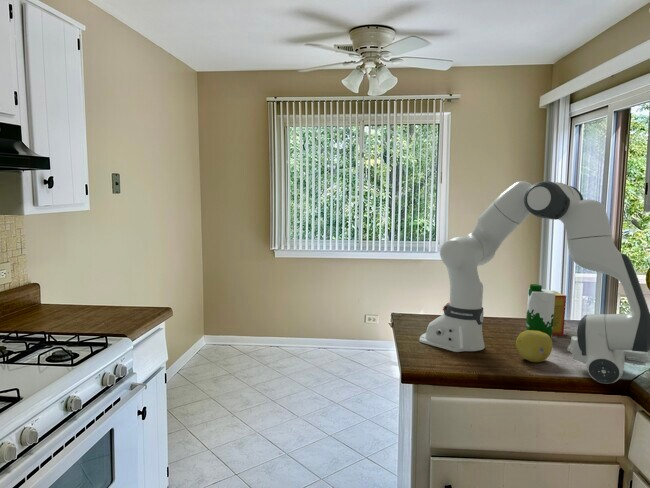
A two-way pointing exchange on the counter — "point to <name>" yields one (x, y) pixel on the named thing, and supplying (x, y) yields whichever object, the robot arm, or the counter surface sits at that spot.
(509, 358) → the counter surface
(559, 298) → the baking soda box
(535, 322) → the milk carton
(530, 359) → the fruit
